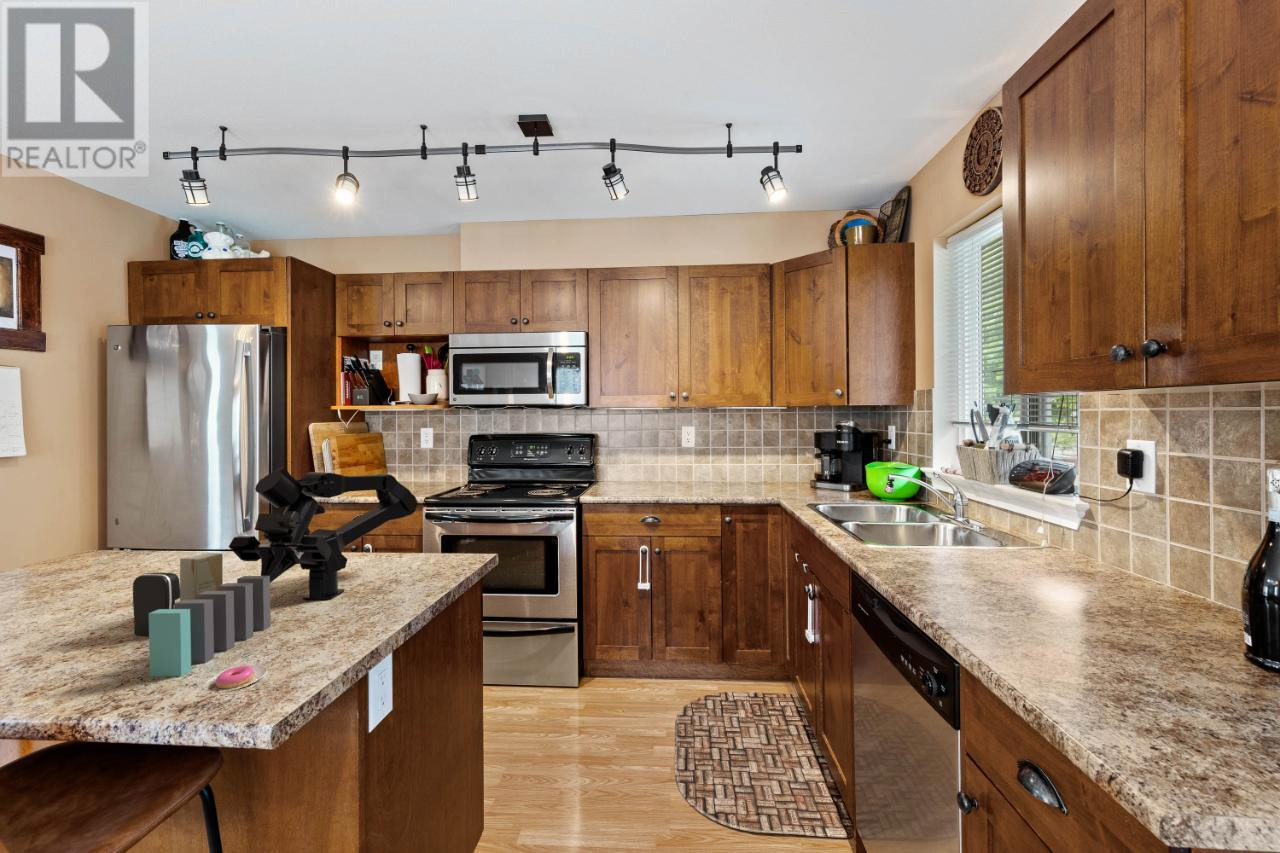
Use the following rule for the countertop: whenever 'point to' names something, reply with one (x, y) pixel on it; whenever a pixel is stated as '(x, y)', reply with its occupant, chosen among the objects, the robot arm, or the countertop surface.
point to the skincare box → (200, 574)
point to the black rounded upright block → (153, 597)
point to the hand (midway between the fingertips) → (263, 585)
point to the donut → (238, 676)
